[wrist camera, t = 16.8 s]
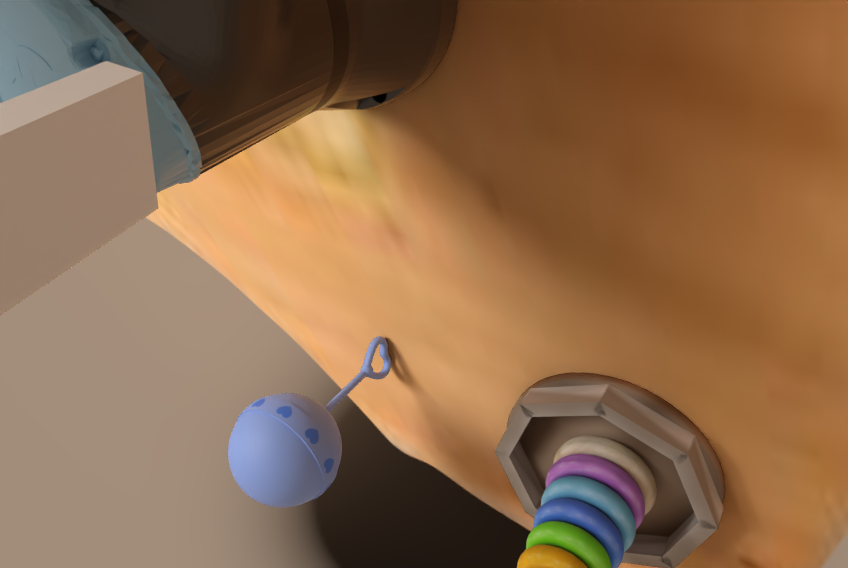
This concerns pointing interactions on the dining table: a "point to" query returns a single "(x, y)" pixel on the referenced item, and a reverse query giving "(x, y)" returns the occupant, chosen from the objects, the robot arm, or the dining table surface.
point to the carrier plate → (637, 430)
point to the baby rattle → (292, 442)
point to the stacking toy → (589, 506)
